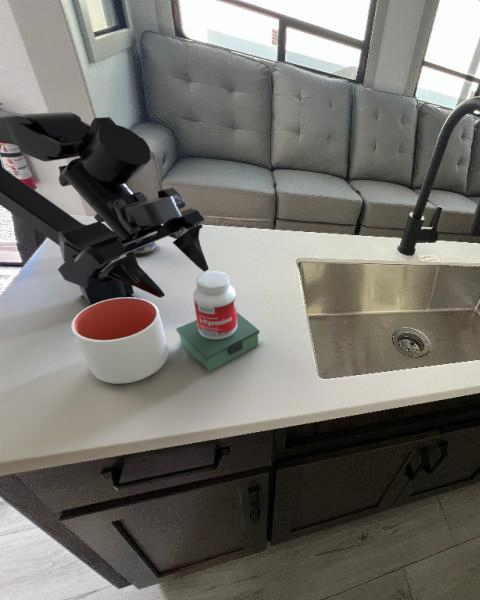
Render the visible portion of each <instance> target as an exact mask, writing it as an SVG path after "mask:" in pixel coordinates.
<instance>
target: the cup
mask: <svg viewBox="0 0 480 600" xmlns="http://www.w3.org/2000/svg"><path fill="white" fill-rule="evenodd" d="M70 326H71V327H70V328H71V329H70V330H71V331H72V333H73V337H74V338H75V340H76V342H77V344H78V347H79V348H80V351H81V353H82V355H83V357H84V359H85V361H86V363H87V365H88V368H89V370H90V372H91V374H92V375H93V376H94V377H95V378H96V379H98V380H100V381H102V382H104V383H107V384H115V385H119V384H120V385H121V384H122V385H123V384H130V383H135V382H139V381H142V380H144V379H147V378H148V377H150V376H152V375H154V374H155V373H157V372H158V371H159V370H160V369H161V368H162V367H163V366H164V364H166V361H167V360H168V356H169V347H168V342H167V339H166V335H165V330H164V327H163V323H162V319H161V315H160V311H159V308H158V307H157V305H156V304H154V303H153V302H151V301H149V300H147V299H143V298H140V297H135V298H131V297H124V298H114V299H109V300H105V301H101V302H98V303H96V304H93V305H91V306H87V307H85V308H84V309H82V310H81V311H80V312H78V313H77V314H76V316H74V318H73V320H72V322H71V325H70Z"/></svg>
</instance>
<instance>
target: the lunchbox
mask: <svg viewBox="0 0 480 600" xmlns="http://www.w3.org/2000/svg"><path fill="white" fill-rule="evenodd" d="M175 329H176V332H177V333H178V334H179V339H180V344H181V346H182V347H183V348H184V349H185V350H186V351H187V352H188V353H189V354H190V355H191V356H192V357H194V359H196V360H197V361H198V362H199V363H200V365H202V366H203V367H204V368H205V369H206V370H207V371H208V372H211V371H213V370H215V369H217V368H219V367H220V366H222V365H224V364H226V363H228V362H229V361H231V360H233V359H235V358H237V357H239V356H241V355H243V354H244V353H246V352H247V351H250V350H252V349H254V348H256V347H257V346H259V334H260V329H259V328H257V327H256V326H255V325H254V324H252V322H250V321H249V320H248V319H247V318H245V317H244V316H243V315H242V314H240V313H239V312H238V311H237V329H236V331H235V332H234V333H233V334H232V335H231V336H229V337H227V338H224V339H216V340H214V339H208V338H205V337H203V336H202V335H201V334H200V332H199V330H198V324H197V319H195V320H193V321H191V322H188V323H186V324H183V325H181V326H179V327H176V328H175Z"/></svg>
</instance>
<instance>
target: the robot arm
mask: <svg viewBox="0 0 480 600" xmlns="http://www.w3.org/2000/svg"><path fill="white" fill-rule="evenodd" d="M0 143H4V144H9V145H13V146H16V147H18V150H19V151H20V153H22V154H24V155H25V156H28V157H31V158H34V159H36V160H39V161H42V162H53V161H60V160H66V159H72V158H74V159H72V160H70V161H69V163H68V164H66V165H61V166H58V170H59V176H58V182H59V185H60V186H61V187H69V186H71V187H72V188H73V189H74V190H75V191H76V192H77V193H78V194H79V195H80V196H81V198H82V199H83V200H84V201H85V202H86V203H87V204H88V205H89V207H90V208H92V209H93V211H94V212H95V215H94V216H93V218H94V219H95V220H96V221H95V222H93V223H89V224H85V223H82V222H80V221H79V220H77V219H76V218H75V217H73V216H72V215H70V214H69V213H68V212H66V211H65V210H63V209H62V208H61V207H59V206H58V205H56V204H55V203H54V202H53V201H50V200H49V199H48V198H46V197H45V196H43V195H42V194H41V193H39V192H38V191H36V190H35V189H34V188H32V187H31V186H30V185H28V184H26V183H25V182H24V181H22V180H21V179H19V178H18V177H16V176H15V175H14V174H12V173H11V172H9V170H7V169H6V168H5V165H4V162H3V159H2V155H1V154H0V206H1V207H3V208H4V209H5V210H7V211H8V212H10V213H11V214H12V215H14V216H15V217H17V218H18V219H20V220H21V221H23V222H24V223H26V224H27V225H29V226H30V227H31V228H33V229H34V230H36V231H37V232H39V233H40V234H42V235H43V236H44V237H46V238H48V239H49V240H50V241H52V242H53V243H55V244H56V245H57V246H59V249H60V253H61V256H62V259H63V263H62V264H61V265H60V266H59V267H58V268H57V271H58V272H59V274H60V275H61V276H62V278H63V279H64V281H67V282H68V283H71V284H74V285H77V286H78V287H79V289H80V292H81V294H82V295H80V298H81V300H82V301H83V302H84V303H85V304H86V306H87V307H89V306H91V305H93V304H96V303H98V302H101V301H105V300H109V299H114V298H124V297H131V298H136V297H135V296H134V294H135V291H134V287H135V288H136V289H140V291H141V290H142V291H143V292H146V293H147V294H150V295H152V296H155V297H157V298H160V299H161V298H163V297H165V295H166V294H165V293H164V291H163V290H162V289H161V287H160V286H159V285H158V284H157V283H156V282H155V281H154V279H152V277H150V276H149V275H148V274H147V272H146V271H145V270H144V269H143V268H142V267H141V266H140V265H139V263H138V261H137V258H136V255H134V250H136V249H139V248H141V247H143V246H146V245H148V244H150V243H153V242H155V243H156V242H157V241H160V240H163V239H165V238H167V237H170V238H173V239H175V240H173V241H172V244H173V245H174V246H175V247H177V248H178V250H180V252H182V253H183V254H184V255H185V256H186V257H187V258H188V259H189V260H190V261H191V262H192V263H193V264H194V265H195V266H196V267H197V268H198V269H200V270H201V271H202V272H203V273H204V272H208V270H209V265H208V263H207V260H206V257H205V254H204V251H203V249H202V246H201V242H200V230H202V229H203V224H202V223H204V222H205V221H206V219H205V217H204V216H203V215H202V213H201V212H200V211H199V210H197V209H195V208H192V207H190V208H188V209H185V210H182V211H180V209H184V208H185V207H186V202H185V200H184V198H183V196H182V195H181V194H180V193H179V192H178V191H177V189H176V188H175V187H168V188H164V189H161V190H160V189H159V190H158V191H157V197H154V198H151V199H149V198H147V196H146V195H145V194H144V193H142V192H141V191H137V192H134V191H133V190H132V189H131V188H130V186H129V185H128V183H130V182H131V181H132V180H133V179H134V178H135V177H136V176H137V175H138V174H139V173H140V172H141V171H142V170H143V169H144V168H145V166H146V165H147V164H148V163H149V162H150V161H151V160H152V150H151V148H150V146H149V144H148V143H147V141H146V140H145V139H144V138H143V137H142V136H139V135H138V134H137V133H136V132H134V131H133V130H131V129H129V128H127V127H125V126H122V125H119V124H117V123H116V122H115V121H114V120H113V118H112V117H111V116H102V117H94V118H93V119H92V121H91V123H90V124H89V123H87V122H85V121H83V120H82V118H81V117H80V116H79V115H77V114H76V113H73V112H71V111H59V112H40V113H20V112H19V113H18V112H13V111H9V110H8V111H7V110H2V109H0ZM1 148H2V145H1V144H0V150H1ZM138 241H139V242H138Z"/></svg>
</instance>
